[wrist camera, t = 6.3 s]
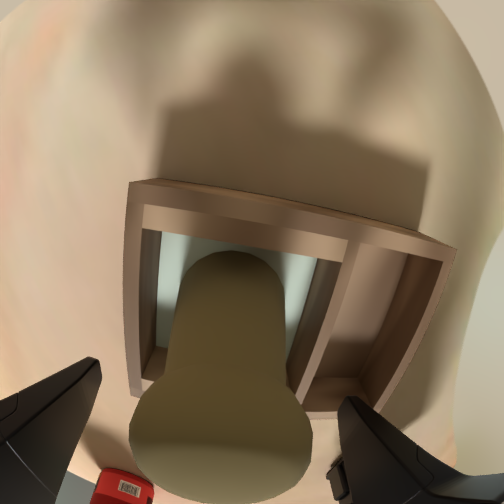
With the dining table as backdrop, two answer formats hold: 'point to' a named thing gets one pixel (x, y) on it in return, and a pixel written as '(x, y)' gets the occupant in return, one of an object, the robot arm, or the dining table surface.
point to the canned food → (121, 488)
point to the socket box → (286, 285)
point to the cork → (224, 391)
